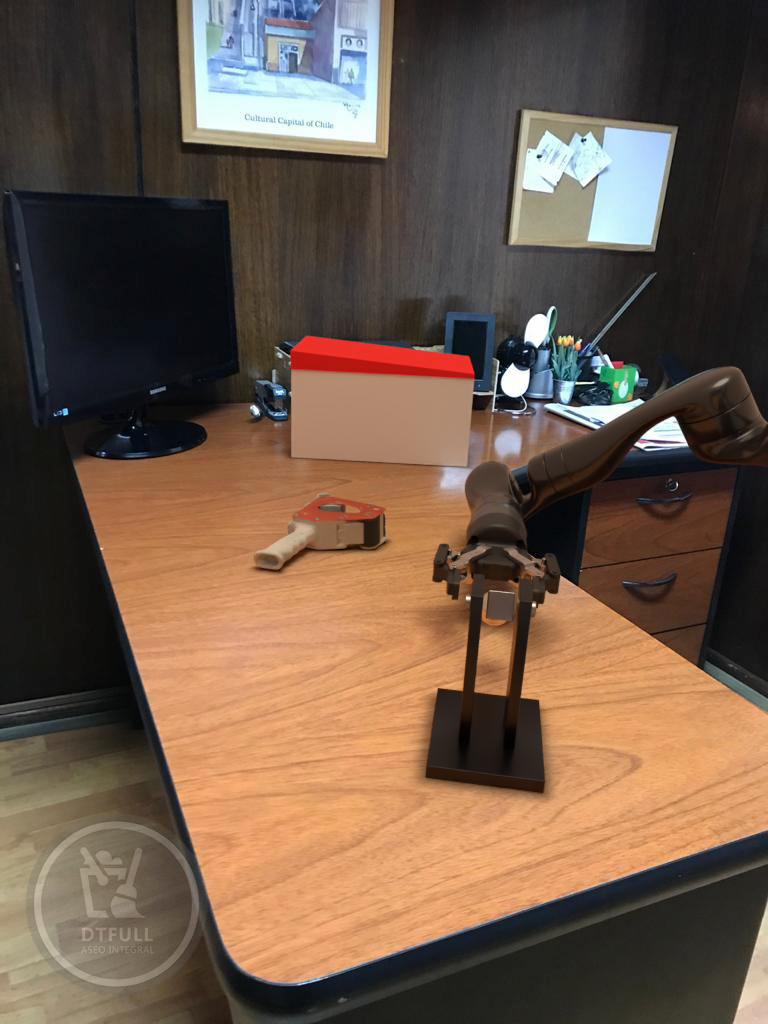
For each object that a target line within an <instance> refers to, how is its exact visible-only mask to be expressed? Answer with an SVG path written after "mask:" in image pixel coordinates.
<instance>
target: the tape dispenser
mask: <svg viewBox="0 0 768 1024" xmlns="http://www.w3.org/2000/svg"><path fill="white" fill-rule="evenodd" d="M347 506H349V507H352V508H357V509H358V510H359V511H360V512H347V508H346V507H347ZM385 511H387V508H385V507H383V506H379V505H376V504H374V503H365V502H362V501H357V500H351V499H346V498H340V497H337V496H332V495H331V494H330V493H329V492H328V493H327V492H322V493H318V494H317V495H316V497H315V498H314V499H313V500H311V501H309V502H306V503H305V504H304V507H303V508H301V509H300V510H299V511H296V512H294V513H293V514H292V519H291V520H290V521H289V522H288V523H287V525H286V526H287V535H285V536H283V537H281V538H280V539H278V540H276V541H275V542H273V543H272V544H271V545H269V546H268V547H265V548H264V549H259V550H256V551H255V553H254V554H253V561H254V563H255V565H256V566H257V567H259V568H261V569H267V570H279V569H282V567H283V565H284V563H285V562H287V561H289V560H291V559H292V557H293V556H295V555H297V554H298V552H300V551H301V550H303V549H305V548H309V549H313V550H319V551H320V550H322V551H323V550H338V549H346V548H348V546H349V545H359V548H360V549H363V550H368V551H369V550H374V549H376V548H378V547H379V546H381V545H382V544H384V542H386V541H387V540H388V537H387V533H386V514H385Z"/></svg>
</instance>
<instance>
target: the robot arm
mask: <svg viewBox="0 0 768 1024" xmlns="http://www.w3.org/2000/svg"><path fill="white" fill-rule="evenodd" d="M671 418H675V420H676V422H677V425H678V427H679V429H680V431H681V433H682V435H683V437H684V440H685V441H686V444H687V446H688V448H689V450H690V452H691V453H692V454H693V455H694V456H695V457H696V458H697V459H699V460H701V461H703V462H707V463H710V464H711V463H712V464H722V465H741V466H756V467H765V468H768V421H766V419H764V417H763V416H762V414H761V412H760V410H759V407H758V405H757V403H756V400H755V398H754V396H753V392H752V391H751V389H750V386H749V384H748V382H747V380H746V377H745V375H744V373H743V372H742V370H741V369H740V368H738V367H736V366H733V365H732V366H731V365H726V366H718V367H715V368H711V369H707V370H705V371H702V372H699V373H697V374H695V375H693V376H691V377H688V378H686V379H684V380H683V381H681V382H679V383H676V384H675V385H673V386H671V387H669V388H667V389H666V390H664V391H662V392H660V393H658V394H656V395H655V396H653V397H651V398H650V399H648V400H646V401H644V402H642V403H639V404H638V405H637V406H634V407H633V408H631V409H629V410H628V411H626V412H625V413H622V414H621V415H619V416H617V417H615V418H614V419H612V420H611V421H609V422H607V423H604V424H603V425H601V426H600V427H598V428H597V429H594V430H592V431H590V432H588V433H585V434H584V435H582V436H580V437H578V438H576V439H572V440H570V441H567V442H565V443H562V444H560V445H558V446H556V447H554V448H550V449H548V450H546V451H544V452H541V453H538V454H536V455H534V456H532V457H531V458H530V459H528V462H527V463H526V475H527V478H528V483H529V487H530V492H529V493H527V494H525V495H524V494H523V491H522V490H521V488H520V485H519V484H518V482H517V480H516V478H515V476H514V475H513V473H512V471H511V469H510V468H509V466H507V465H506V464H505V463H503V462H502V461H501V462H500V461H498V460H497V461H496V460H494V461H493V460H491V461H485V462H482V463H480V464H478V465H477V466H476V467H474V468H473V469H472V470H471V471H470V472H469V474H468V475H467V477H466V479H465V482H464V494H465V498H466V499H465V500H466V503H467V506H468V508H469V511H470V519H469V522H468V525H467V528H466V539H465V546H464V547H463V548H462V549H461V550H460V551H459V550H453V549H452V548H450V544H448V543H439V544H438V547H437V550H436V553H435V555H434V558H433V560H432V563H433V564H432V565H433V568H432V571H433V572H432V576H431V581H432V582H433V583H435V584H436V583H438V584H440V583H442V582H443V581H444V582H446V587H445V588H446V590H445V593H446V595H447V596H451V600H452V601H459V598H460V597H459V595H460V587H461V585H462V584H466V585H472V584H473V574H482V575H485V581H489V580H490V581H496V582H497V581H499V582H504V583H509V584H510V585H512V586H513V587H515V588H516V589H518V587H519V579H520V578H521V579H530V580H531V588H532V601H536V609H538V608H539V605H544V604H545V601H546V600H545V599H546V593H548V594H550V595H557V594H559V588H560V582H561V574H562V573H561V569H560V566H559V562H558V560H557V557H556V555H555V554H554V553H549V552H547V553H545V554H544V557H542V558H533V556H532V555H531V554H530V553H529V552H528V541H527V538H528V532H527V529H526V525H525V522H527V521H528V520H529V519H530V518H532V517H533V516H534V515H536V514H537V513H539V512H541V511H542V510H543V509H545V508H546V507H548V506H550V505H552V504H553V503H555V502H558V501H559V500H563V499H565V498H567V497H570V496H572V495H575V494H578V493H582V492H583V491H587V490H588V489H591V488H593V487H595V486H597V485H599V484H601V483H602V482H604V481H605V480H606V479H608V478H609V477H610V476H611V475H612V473H614V472H615V470H616V469H617V468H618V467H619V465H620V464H621V463H622V462H623V460H624V459H625V458H626V456H627V455H628V454H629V452H630V451H631V450H632V448H634V446H635V445H636V444H637V443H638V442H639V441H640V439H642V437H643V436H644V435H646V433H647V432H649V431H650V430H651V429H652V428H654V427H656V426H657V425H658V424H661V423H663V422H664V421H667V420H668V419H671Z"/></svg>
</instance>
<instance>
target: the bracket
mask: <svg viewBox="0 0 768 1024" xmlns="http://www.w3.org/2000/svg"><path fill="white" fill-rule="evenodd" d="M485 581H486V580H485V575H482V574H473V583H472V584H471V585H472V586H471V594H465V598H464V608H463V609H464V611H466V612H469V619H468V630H467V643H466V653H465V661H464V662H465V663H464V674H463V685H462V690H461V689H460V690H459V689H450V688H442V687H437V689H436V690H437V691H436V696H435V704H434V710H433V717H432V725H431V731H430V738H429V739H430V740H429V745H428V751H427V758H426V765H425V778H431V779H439V780H445V781H453V782H461V783H467V784H475V785H483V786H489V787H491V786H493V787H498V788H505V789H512V790H513V789H514V790H521V791H528V792H534V793H535V792H537V793H544V792H545V786H546V777H545V776H546V775H545V762H544V746H543V733H542V721H541V719H542V718H541V705H540V700H539V699H534V698H528V697H527V698H525V697H522V691H523V683H524V675H525V666H526V660H527V650H528V643H529V642H528V641H529V635H530V627H531V619H535V618H536V614H537V608H536V601H532V588H531V580H530V579H521V578H520V579H519V587H518V588H517V595H516V605H515V612H514V615H515V616H514V620H513V629H512V630H513V631H512V639H511V649H510V657H509V666H508V675H507V682H506V683H507V684H506V690H505V691H506V692H505V695H501V694H493V693H484V692H475V689H476V680H477V669H478V660H479V659H478V658H479V649H480V638H481V628H482V609H483V599H484V594H485V583H486V582H485Z"/></svg>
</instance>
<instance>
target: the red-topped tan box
mask: <svg viewBox="0 0 768 1024" xmlns="http://www.w3.org/2000/svg"><path fill="white" fill-rule="evenodd" d="M289 352H290V353H289V355H290V356H289V361H290V364H289V368H290V380H291V381H290V402H291V403H290V415H291V416H290V418H291V419H290V424H291V426H290V429H291V430H290V432H291V433H290V434H291V435H290V437H291V438H290V439H291V440H290V443H291V445H290V449H291V450H290V455H291V456H290V457H291V458H296V459H297V458H298V459H299V458H300V459H314V460H315V459H317V460H337V461H351V462H354V461H355V462H369V463H370V462H371V463H372V462H373V463H388V464H389V463H390V464H408V465H425V466H427V465H428V466H444V467H462V468H468V460H469V447H470V437H471V424H472V411H473V399H474V388H475V375H476V374H475V371H474V367H473V364H472V361H471V358H470V356H469V355H464V354H463V355H462V354H455V353H447V352H439V351H433V350H425V349H424V350H423V349H415V348H407V347H400V346H392V345H384V344H375V343H367V342H360V341H352V340H344V339H335V338H329V337H320V336H314V335H313V336H312V335H305V336H304V337H303V338H302V339H301V340H300V341H299V342H298V343H296V345H294V347H292V348H291V349H290V351H289Z"/></svg>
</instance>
